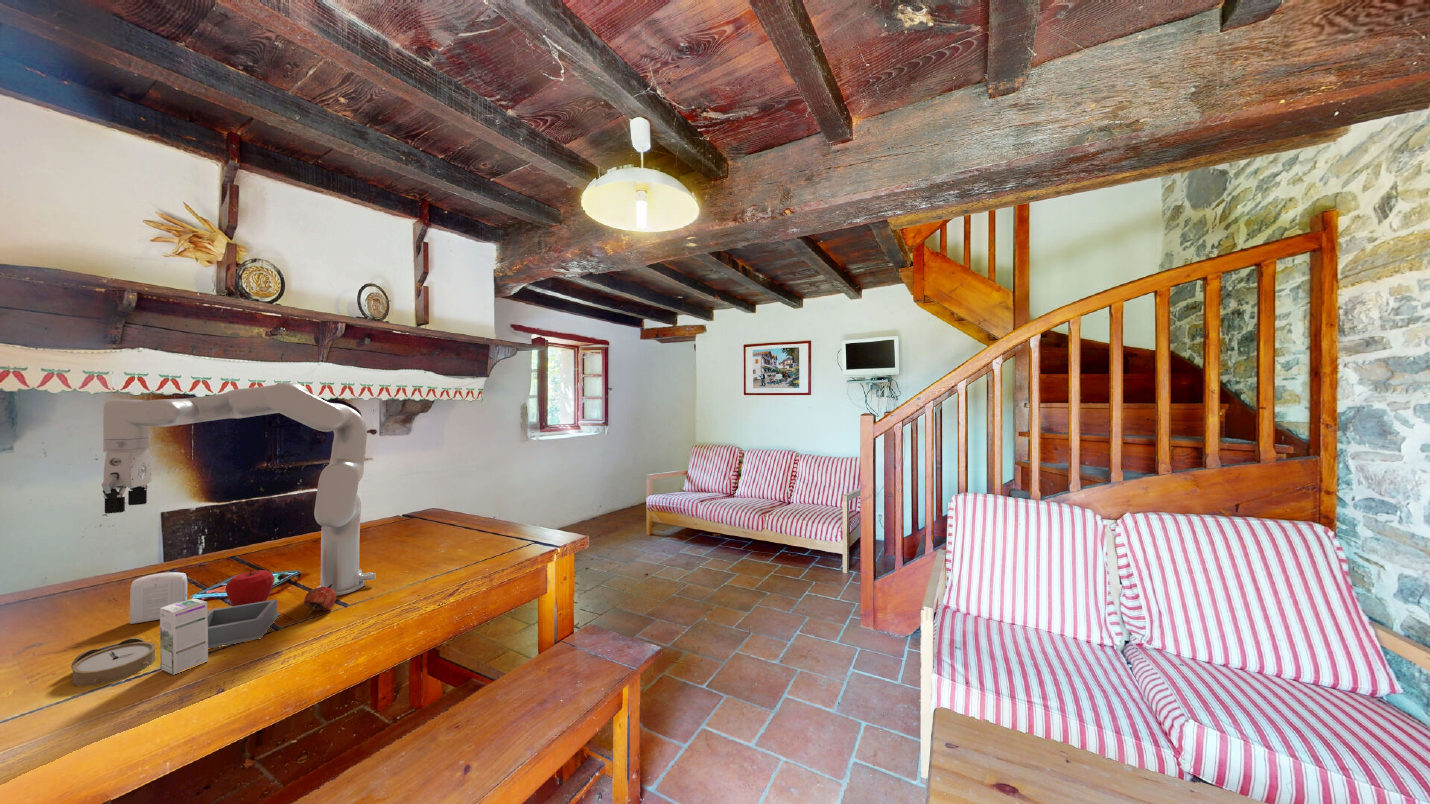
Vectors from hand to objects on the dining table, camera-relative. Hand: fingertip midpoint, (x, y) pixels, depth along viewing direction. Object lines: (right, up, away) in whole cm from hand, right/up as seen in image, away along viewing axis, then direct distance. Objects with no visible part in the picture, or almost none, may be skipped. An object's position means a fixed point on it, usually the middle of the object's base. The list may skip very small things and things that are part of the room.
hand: (126, 508), depth 120 cm
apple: (+22, -32, +11) cm, 40 cm away
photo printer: (+5, -32, +3) cm, 32 cm away
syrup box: (+37, -32, -18) cm, 52 cm away
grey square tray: (+33, -32, -4) cm, 46 cm away
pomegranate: (+45, -32, +9) cm, 56 cm away
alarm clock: (+22, -32, -19) cm, 43 cm away
